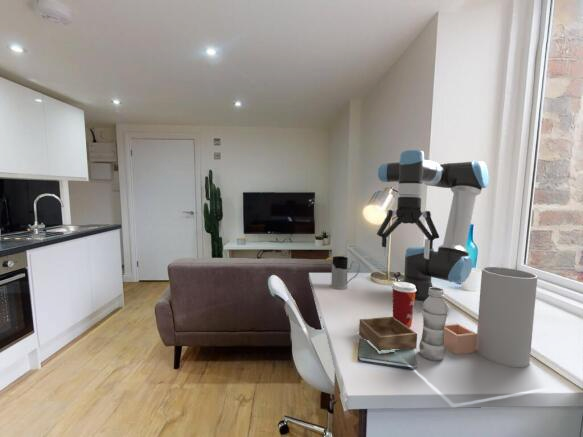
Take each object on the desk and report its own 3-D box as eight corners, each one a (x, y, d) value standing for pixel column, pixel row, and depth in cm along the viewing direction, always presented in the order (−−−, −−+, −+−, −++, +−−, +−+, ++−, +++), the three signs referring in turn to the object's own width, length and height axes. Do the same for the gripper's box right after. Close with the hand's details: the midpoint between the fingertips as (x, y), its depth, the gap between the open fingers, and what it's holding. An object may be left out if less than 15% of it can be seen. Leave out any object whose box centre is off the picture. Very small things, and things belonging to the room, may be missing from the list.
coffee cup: (416, 332, 96) (419, 289, 95) (391, 329, 97) (393, 287, 96) (411, 322, 104) (413, 282, 103) (388, 319, 106) (390, 280, 105)
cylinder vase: (533, 375, 74) (542, 281, 72) (476, 359, 80) (482, 273, 78) (525, 353, 84) (532, 271, 82) (475, 341, 91) (481, 264, 89)
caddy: (392, 330, 97) (392, 316, 96) (416, 349, 85) (417, 333, 84) (358, 334, 94) (359, 319, 93) (379, 354, 82) (380, 337, 81)
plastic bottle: (414, 351, 83) (418, 285, 82) (436, 351, 84) (440, 285, 83) (426, 364, 77) (431, 293, 76) (450, 364, 78) (455, 293, 76)
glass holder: (330, 283, 148) (331, 255, 147) (358, 285, 146) (359, 257, 145) (330, 289, 139) (331, 259, 138) (359, 291, 138) (361, 260, 136)
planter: (456, 341, 90) (458, 323, 90) (475, 353, 83) (477, 334, 83) (438, 343, 88) (439, 325, 88) (456, 356, 82) (457, 336, 81)
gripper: (442, 197, 100) (438, 256, 101) (370, 195, 102) (367, 253, 104) (452, 197, 92) (448, 261, 94) (374, 195, 95) (371, 257, 96)
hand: (406, 257), depth 99 cm, fingers open, 13 cm apart
